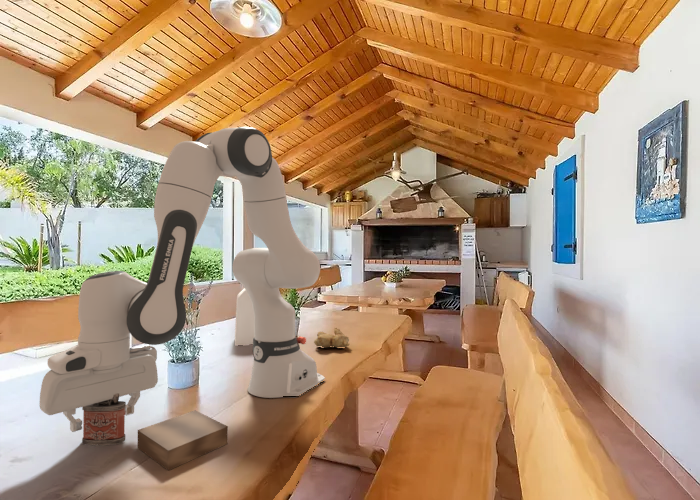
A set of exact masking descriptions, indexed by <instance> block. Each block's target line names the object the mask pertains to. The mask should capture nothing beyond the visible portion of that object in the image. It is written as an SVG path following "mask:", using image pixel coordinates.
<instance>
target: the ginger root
mask: <svg viewBox="0 0 700 500" xmlns="http://www.w3.org/2000/svg"><path fill="white" fill-rule="evenodd" d="M333 330H334V331H333V333H334V334H331V333H327V332H325V331H318V332H317V334H316V336H317V338H315V339H314V341H313V343H314V345H315V346H316V347H317V346H322V347H325V348H331V347H330V346H334V347H349V346H350V343H349V342H350V338H349V336H348V335H345V333H343V332H342V331H341V329H340V328H337V327H334V329H333ZM334 347H333V348H334Z"/></svg>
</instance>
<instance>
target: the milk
mask: <svg viewBox="0 0 700 500" xmlns="http://www.w3.org/2000/svg"><path fill="white" fill-rule="evenodd" d="M235 304H236V305H235V306H236V308H235V324H234V325H235V327H234V328H235V329H234V330H235V331H234V345H235V346H236V347H239V346H238V345H243V346H250V345H249V344H253V338H254V337H255V323H254V310H253V305H252V302H251V299H250V297H249V295H248V293H247V291H246V289H245V288H244V287H243V289H242V290H241V291H239V292H238V293H237V295H236V303H235Z"/></svg>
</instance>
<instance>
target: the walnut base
mask: <svg viewBox="0 0 700 500" xmlns="http://www.w3.org/2000/svg"><path fill="white" fill-rule="evenodd" d="M228 433H229V430H228V426H227V425H226V424H224V423H222V422H220V421H217V420H216V419H214V418H212V417H209V416H208V415H207V414H206V415H205V414H203V413H202V412H200V411H198V410H191V411H189V412H186V413H183V414H180V415H178V416H174V417H172V418H169V419H166V420H163V421H160V422H157V423H154V424H151V425H148V426H145V427H142V428H140V429H137V449H138V450H140V451H141V452H143V453H144V454H145V455H146V456H147V457H149V458H151V459H152V460H154V462H156V463H157V464H159V465H160V466H162V467H163V468H164V469H166V471H170V470H172V469H175V468H176V467H179V466H181V465H184V464H186V463H188V462H191V461H192V460H195V459H197V458H200V457H201V456H204V455H207V454H208V453H211V452H213V451H215V450H217V449H219V448H221V447H224V446H226V445H227V444H228V442H229V441H228V435H229V434H228Z"/></svg>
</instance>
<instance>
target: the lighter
mask: <svg viewBox="0 0 700 500" xmlns="http://www.w3.org/2000/svg"><path fill="white" fill-rule="evenodd" d="M126 405H127V402H126V401H123V400H120V397H119V393H118V394H114V396H113V398H112V399H110V400H106V401H102V402H98V403H95V404H91V405H87V406H83V407H81V408H82V411H83V420H82V425H83V426H82V430H83V432H82V433H83V434H82V435H83V437H82V438H81V444H82V445H87V446H109V445H110V446H111V445H119V444H122V443H125V441H126V434H125V422H126V421H125V420H126V419H125V418H126V417H125V416H126V415H125V407H126Z"/></svg>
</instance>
